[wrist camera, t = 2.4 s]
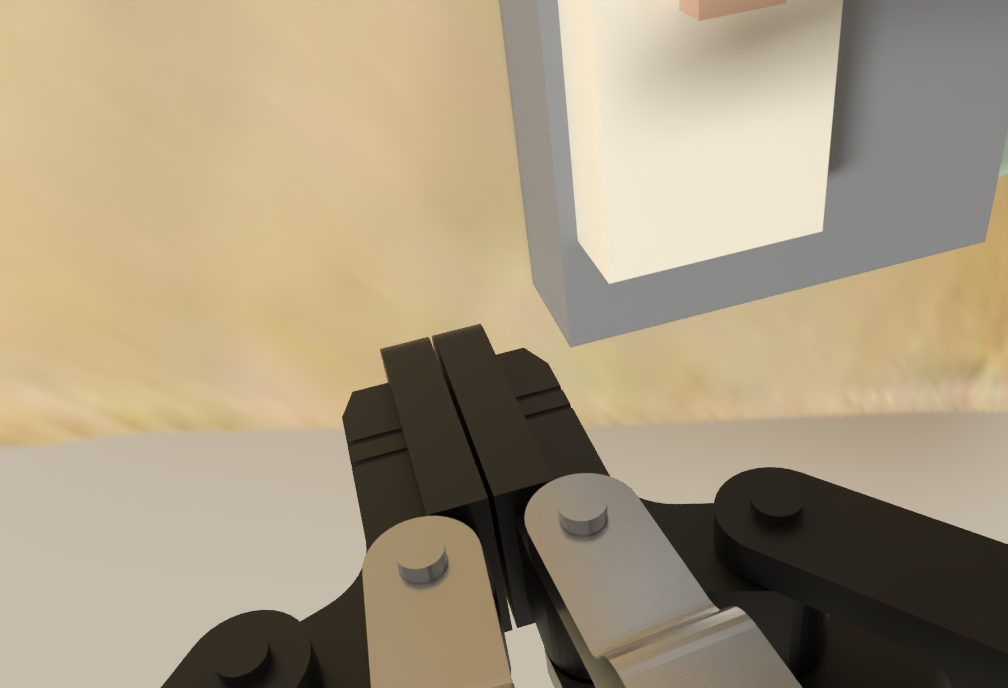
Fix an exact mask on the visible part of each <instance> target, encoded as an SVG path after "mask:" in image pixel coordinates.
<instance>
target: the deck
mask: <svg viewBox="0 0 1008 688" xmlns="http://www.w3.org/2000/svg"><path fill="white" fill-rule="evenodd" d="M499 1H500V10H501V18H502V27H503V35H504V43H505V52H506V60H507V69H508V77H509V85H510V94H511V102H512V111H513V119H514V127H515V136H516V144H517V153H518V161H519V169H520V178H521V186H522V195H523V203H524V211H525V220H526V228H527V237H528V245H529V253H530V262H531V270H532V279H533V284H534V286H535V288H536V289H537V291H538V293H539V294H540V296H541V298H542V300H543V301H544V303H545V305H546V306H547V308H548V310H549V311H550V313H551V315H552V317H553V318H554V320H555V322H556V323H557V325H558V327H559V329H560V330H561V332H562V334H563V335H564V337H565V339H566V340H567V342H568V344H569V346H570V347H574V346H578V345H582V344H586V343H590V342H594V341H597V340H601V339H605V338H609V337H613V336H617V335H621V334H625V333H629V332H633V331H637V330H641V329H644V328H648V327H652V326H656V325H660V324H664V323H668V322H672V321H676V320H680V319H684V318H688V317H692V316H695V315H699V314H703V313H707V312H711V311H715V310H719V309H723V308H727V307H731V306H735V305H739V304H742V303H746V302H750V301H754V300H758V299H762V298H766V297H770V296H774V295H778V294H782V293H786V292H789V291H793V290H797V289H801V288H805V287H809V286H813V285H817V284H821V283H825V282H829V281H833V280H837V279H840V278H844V277H848V276H852V275H856V274H860V273H864V272H868V271H872V270H876V269H880V268H884V267H887V266H891V265H895V264H899V263H903V262H907V261H911V260H915V259H919V258H923V257H927V256H931V255H935V254H938V253H942V252H946V251H950V250H954V249H958V248H962V247H966V246H970V245H974V244H978V243H982V242H985V239H986V234H987V229H988V224H989V219H990V214H991V210H992V205H993V200H994V195H995V190H996V185H997V180H998V175H999V171H1000V166H1001V161H1002V156H1003V151H1004V146H1005V141H1006V136H1007V132H1008V0H843V7H842V18H841V29H840V41H839V52H838V63H837V74H836V85H835V97H834V108H833V119H832V130H831V141H830V153H829V164H828V175H827V186H826V197H825V209H824V220H823V231H822V232H818V233H814V234H810V235H806V236H801V237H797V238H793V239H789V240H785V241H781V242H777V243H773V244H769V245H765V246H761V247H757V248H753V249H749V250H745V251H741V252H736V253H732V254H728V255H724V256H720V257H716V258H712V259H708V260H704V261H700V262H696V263H692V264H688V265H684V266H680V267H676V268H672V269H667V270H663V271H659V272H655V273H651V274H647V275H643V276H639V277H635V278H631V279H627V280H623V281H619V282H615V283H611V284H609V283H608V282H607V280H606V279H605V278H604V276H603V275H602V273H601V272H600V271H599V269H598V268H597V267H596V265H595V264H594V262H593V261H592V260H591V258H590V257H589V256H588V254H587V253H586V251H585V250H584V249H583V247H582V246H581V245H580V243H579V242H578V237H577V225H576V213H575V201H574V189H573V177H572V165H571V153H570V141H569V129H568V117H567V105H566V93H565V81H564V70H563V58H562V46H561V34H560V22H559V10H558V0H499Z"/></svg>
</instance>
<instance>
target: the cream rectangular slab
mask: <svg viewBox="0 0 1008 688" xmlns="http://www.w3.org/2000/svg"><path fill="white" fill-rule="evenodd" d="M842 7H843V0H558V10H559V22H560V34H561V46H562V58H563V70H564V81H565V93H566V105H567V117H568V129H569V141H570V153H571V165H572V177H573V189H574V201H575V213H576V225H577V237H578V242H579V243H580V245H581V246H582V247H583V249H584V250H585V251H586V253H587V254H588V256H589V257H590V258H591V260H592V261H593V262H594V264H595V265H596V267H597V268H598V269H599V271H600V272H601V273H602V275H603V276H604V278H605V279H606V280H607V282H608V283H609V284H611V283H615V282H619V281H623V280H627V279H631V278H635V277H639V276H643V275H647V274H651V273H655V272H659V271H663V270H667V269H672V268H676V267H680V266H684V265H688V264H692V263H696V262H700V261H704V260H708V259H712V258H716V257H720V256H724V255H728V254H732V253H736V252H741V251H745V250H749V249H753V248H757V247H761V246H765V245H769V244H773V243H777V242H781V241H785V240H789V239H793V238H797V237H801V236H806V235H810V234H814V233H818V232H822V231H823V220H824V209H825V197H826V186H827V175H828V164H829V153H830V141H831V130H832V119H833V108H834V97H835V85H836V74H837V63H838V52H839V41H840V29H841V18H842Z"/></svg>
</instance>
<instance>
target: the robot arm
mask: <svg viewBox="0 0 1008 688" xmlns="http://www.w3.org/2000/svg"><path fill="white" fill-rule="evenodd" d="M432 341H433V347H434V349H433V347H432V344H431V341H430V339H429V337H427V338H423V339H419V340H415V341H411V342H407V343H403V344H399V345H395V346H391V347H387V348H383V349H380V351H381V356H382V360H383V364H384V368H385V372H386V376H387V381H388V383H385V384H382V385H378V386H374V387H370V388H366V389H362V390H358V391H354V392H352V395H351V397H350V400H349V402H348V405H347V407H346V409H345V412H344V414H343V417H342V419H343V424H344V429H345V434H346V439H347V444H348V450H349V455H350V460H351V465H352V471H353V476H354V481H355V486H356V491H357V497H358V502H359V507H360V513H361V517H362V523H363V527H364V533H365V538H366V547H367V552H366V556H365V559H364V563H363V567H362V569H361V571H360V573H359V575H358V577H357V578H356V580H355V581H354V583H353V584H352V585H351V586H350V587H349V588H348V589H347V590H346V591H345V592H344V593H343V594H342V595H341V596H340V597H339V598H337V599H336V600H335V601H333V602H332V603H330V604H329V605H327V606H326V607H324V608H323V609H321V610H319V611H318V612H316V613H314V614H312V615H311V616H309V617H307V618H306V619H304V620H302V621H300V622H299V621H298V620H297V619H295V618H294V617H292V616H291V615H288V614H286V613H283V612H279V611H274V610H259V611H251V612H247V613H243V614H240V615H237V616H235V617H232V618H229V619H228V620H226V621H224V622H222V623H220V624H219V625H217V626H216V627H214V628H213V629H211V630H210V631H209V632H208V633H206V634H205V635H204V636H203V637H202V638H201V639H200V640H199V641H198V642H197V643H196V644H195V646H194V647H193V648H192V649H191V651H190V652H189V653H188V654H187V655H186V657H185V658H184V659H183V660H182V662H181V663H180V664H179V666H178V667H177V668H176V669H175V671H174V672H173V673H172V675H171V676H170V677H169V678H168V679H167V681H166V682H165V683H164V684H163V686H162V687H161V688H515V687H514V684H513V683H512V678H511V666H510V661H509V655H508V650H507V645H506V640H505V635H504V632H507V631H510V630H512V625H511V620H510V614H509V609H508V603H507V600H508V602H509V605H510V608H511V611H512V614H513V617H514V620H515V623H516V626H517V628H519V627H522V626H526V625H529V624H532V623H536V625H537V628H538V630H539V633H540V636H541V639H542V641H543V644H544V648H545V654H546V660H547V667H548V673H549V675H550V678H551V681H552V683H553V685H554V687H555V688H1008V544H1005V543H1002V542H999V541H996V540H994V539H991V538H988V537H985V536H982V535H979V534H976V533H973V532H971V531H968V530H965V529H962V528H959V527H956V526H953V525H950V524H948V523H945V522H942V521H939V520H936V519H933V518H930V517H927V516H924V515H922V514H919V513H916V512H913V511H910V510H907V509H904V508H902V507H899V506H896V505H893V504H890V503H887V502H884V501H881V500H878V499H875V498H873V497H870V496H867V495H864V494H861V493H858V492H855V491H852V490H850V489H847V488H844V487H841V486H838V485H835V484H832V483H830V482H827V481H824V480H821V479H818V478H815V477H812V476H809V475H806V474H804V473H801V472H797V471H794V470H790V469H784V468H774V467H772V468H771V467H766V468H756V469H752V470H748V471H744V472H741V473H739V474H737V475H735V476H733V477H732V478H730V479H729V480H728V481H726V482H725V483H724V484H723V485H722V486H721V488H720V489H719V491H718V492H717V494H716V498H715V501H714V503H706V504H663V503H656V502H652V501H648V500H644V499H642V498H639V497H638V496H637V495H636V494H635V492H633V490H632V489H631V488H630V487H628V486H627V485H626V484H624V483H623V482H621V481H619V480H617V479H615V478H612V477H610V475H609V474H608V472H607V470H606V469H605V466H604V465H603V463H602V461H601V459H600V457H599V456H598V454H597V452H596V450H595V448H594V446H593V445H592V443H591V441H590V439H589V438H588V436H587V434H586V432H585V430H584V428H583V426H582V425H581V423H580V421H579V419H578V417H577V415H576V414H575V412H574V410H573V408H571V406H570V403H569V401H568V399H567V397H566V395H565V393H564V392H563V390H561V387H560V384H559V383H558V381H557V379H556V377H555V375H554V373H553V372H552V370H551V368H550V366H549V364H548V363H546V362H545V361H543V360H542V359H540V358H539V357H537V356H536V355H534V354H533V353H531V352H530V351H528V350H526V349H525V348H521V349H517V350H513V351H509V352H505V353H501V354H498V355H496V354H495V352H494V350H493V348H492V346H491V344H490V342H489V339H488V337H487V335H486V333H485V331H484V329H483V327H482V325H481V324H478V325H474V326H470V327H466V328H462V329H458V330H454V331H450V332H446V333H442V334H438V335H434V336H432ZM506 597H507V598H506Z"/></svg>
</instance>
